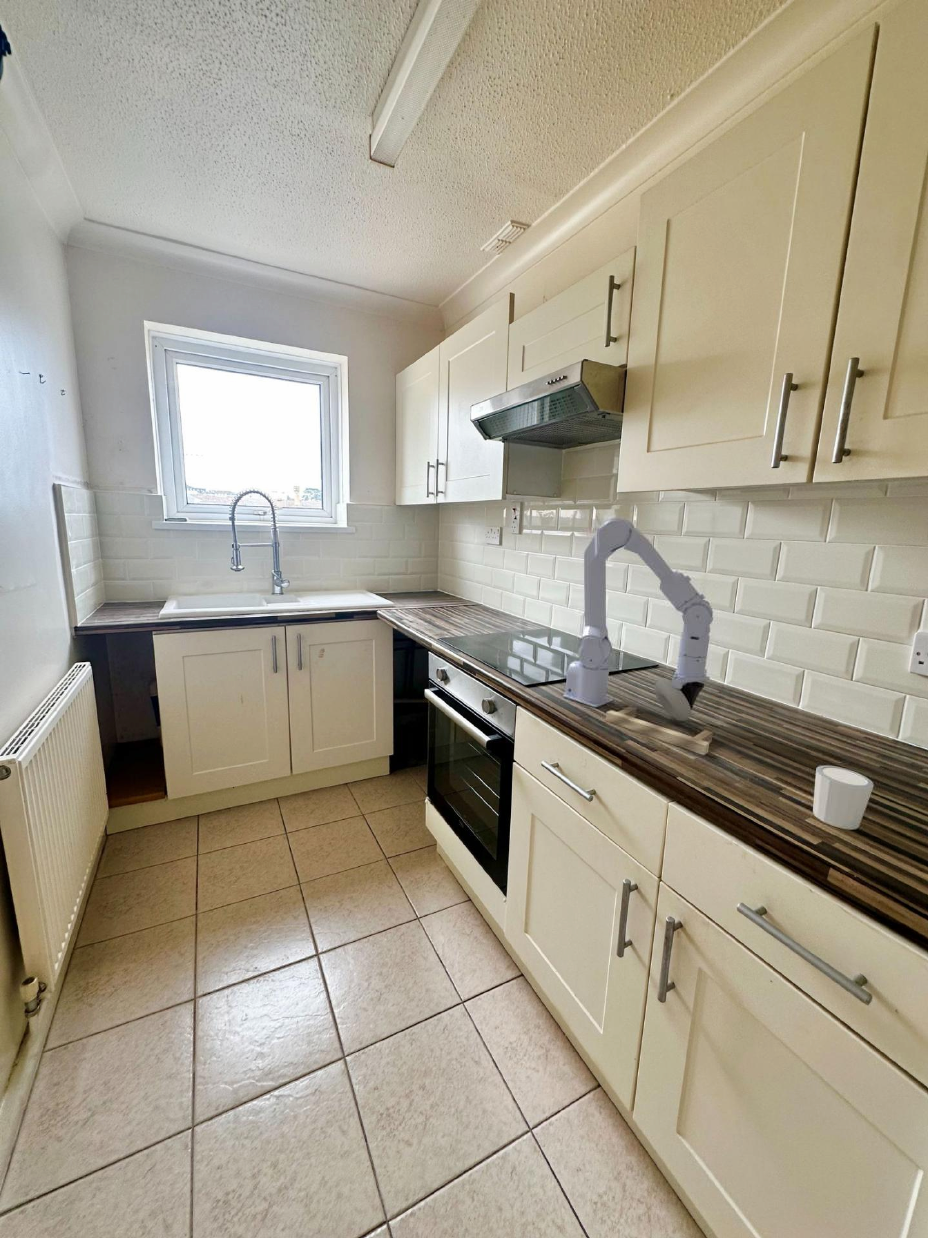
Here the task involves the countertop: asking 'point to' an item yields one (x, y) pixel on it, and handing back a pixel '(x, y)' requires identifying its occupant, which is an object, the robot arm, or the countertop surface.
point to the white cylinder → (840, 796)
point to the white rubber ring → (672, 700)
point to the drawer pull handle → (660, 731)
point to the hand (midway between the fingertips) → (684, 712)
